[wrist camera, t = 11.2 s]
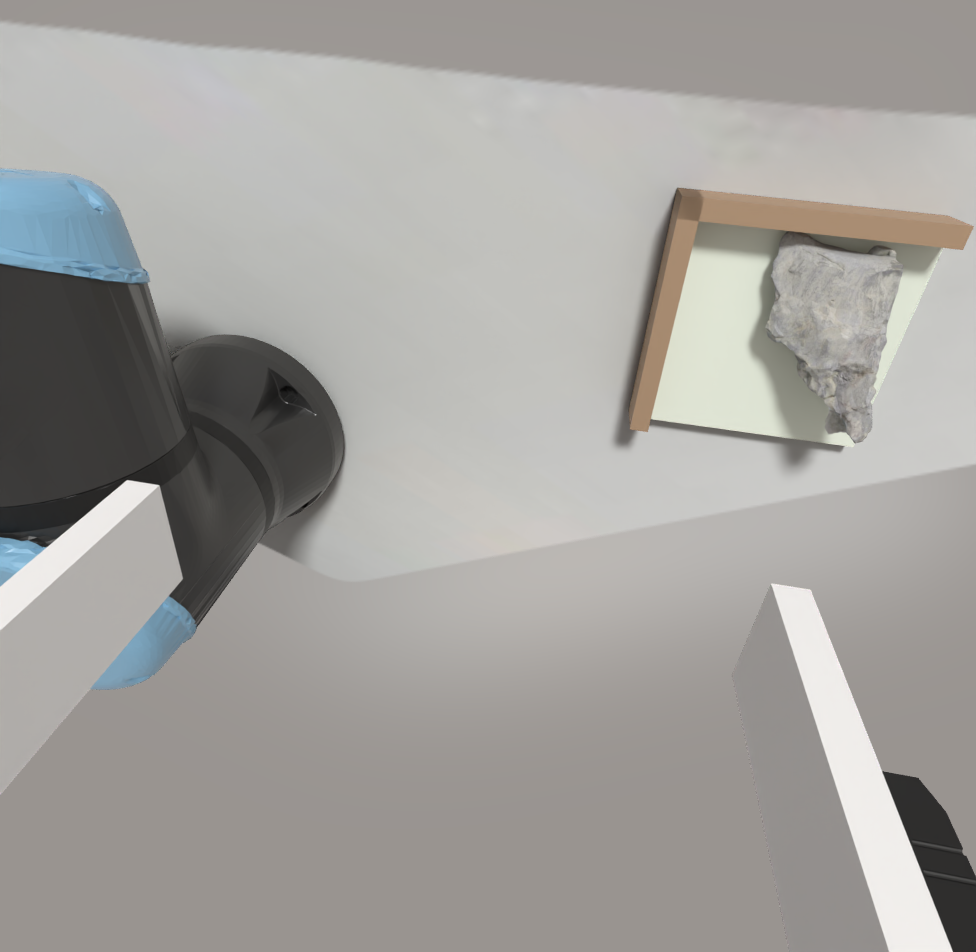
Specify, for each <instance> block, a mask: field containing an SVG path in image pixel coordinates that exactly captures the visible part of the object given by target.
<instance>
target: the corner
mask: <svg viewBox="0 0 976 952" xmlns="http://www.w3.org/2000/svg"><path fill="white" fill-rule="evenodd" d="M973 227H974V226H971V225H969V224H967V223H964V222H962V221H959V220H957V219H955V218H952V217H950V216H944V215H935V214H925V213H915V212H906V211H896V210H886V209H877V208H867V207H858V206H848V205H838V204H829V203H819V202H809V201H800V200H790V199H781V198H771V197H761V196H752V195H742V194H732V193H723V192H713V191H704V190H694V189H684V188H677V191H676V196H675V201H674V205H673V210H672V214H671V219H670V223H669V228H668V233H667V237H666V242H665V246H664V251H663V255H662V260H661V265H660V269H659V274H658V278H657V283H656V287H655V292H654V297H653V301H652V306H651V310H650V315H649V319H648V324H647V329H646V333H645V338H644V342H643V347H642V351H641V356H640V361H639V365H638V370H637V374H636V379H635V383H634V388H633V393H632V397H631V402H630V406H629V423H630V429H631V430H638V431H645V432H648V429H649V425H650V420H651V419H654V420H661V421H668V422H675V423H682V424H690V425H697V426H704V427H711V428H719V429H726V430H733V431H740V432H747V433H755V434H762V435H769V436H776V437H783V438H791V439H798V440H805V441H812V442H820V443H827V444H834V445H841V446H848V447H854V444H855V443H854V442H853V440H852V439H851V438H850V436H849V435H848V434H847V433H843V432H839V433H833V434H828V433H827V431H826V429H825V424H826V423H825V420H826V418H827V416H828V414H829V408H828V406H827V405H826V404H825V403H824V401H823V399H822V398H821V397H820V396H818V395H817V394H816V393H814V392H813V391H811V390H810V389H809V388H808V387H807V384H806V383H805V382H804V381H803V379H802V378H801V377H800V376H799V375H798V372H797V363H798V361H797V359H796V357H795V353H794V351H793V350H790V349H789V348H788V347H787V346H786V345H784V344H783V343H776V342H773V341H771V340H770V338H769V337H768V336H767V332H766V328H765V326H766V323H767V322H768V321H769V316H770V313H771V310H772V307H773V304H774V302H775V286H774V283H773V280H772V277H771V274H772V271H773V265H772V264H773V262H774V260H775V259H776V257H777V255H778V252H779V243H780V241H781V238H782V237H783V235H784V234H785V233H786V232H787V231H794V232H803V233H806V234H808V235H810V236H811V237H812V238H813V239H814V240H817V241H819V242H821V243H823V244H827V245H832V246H837V247H840V248H843V249H846V250H849V251H856V252H861V253H868V252H869V250H870V249H871V248H872V247H874V246H876V245H883V246H886V247H888V248H891V249H893V250H894V251H895V252H896V254H897V255H896V260H897V261H898V262H899V263H901V264H902V265H903V274H902V277H901V280H900V284H899V289H898V293H897V295H896V298H895V301H894V303H893V307H892V310H891V315H890V318H889V321H888V324H887V333H886V338H887V343H886V345H885V347H884V349H883V350H882V352H881V360H880V362H879V369H878V372H877V374H876V378H877V379H876V381H875V383H874V386H873V387H874V388H875V389H876V394H875V395H874V397H873V399H872V400H871V404H872V405H873V402H874V400H875V398H876V396H877V394H878V391H879V389H880V387H881V385H882V382H883V380H884V378H885V376H886V374H887V371H888V369H889V367H890V365H891V363H892V360H893V358H894V356H895V354H896V352H897V349H898V347H899V345H900V343H901V340H902V338H903V336H904V334H905V332H906V329H907V327H908V325H909V323H910V321H911V318H912V316H913V314H914V312H915V310H916V307H917V305H918V303H919V301H920V298H921V296H922V294H923V292H924V290H925V287H926V285H927V283H928V281H929V279H930V276H931V274H932V272H933V270H934V268H935V265H936V263H937V261H938V259H939V256H940V254H941V252H942V250H943V248H950V249H960V250H963V248H964V246H965V244H966V242H967V240H968V238H969V235H970V233H971V231H972V229H973Z"/></svg>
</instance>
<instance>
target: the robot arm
mask: <svg viewBox="0 0 976 952" xmlns="http://www.w3.org/2000/svg"><path fill="white" fill-rule="evenodd" d="M148 282H150V280H149V274H148V272H147V271H146V270H145V269H143V268H142V266H141V264H140V261H139V259H138V256H137V253H136V251H135V248H134V246H133V243H132V240H131V238H130V235H129V233H128V230H127V227H126V225H125V222H124V220H123V217H122V215H121V212H120V210H119V208H118V206H117V205H116V203H115V202H114V200H113V199H112V198H111V197H110V195H109V194H108V193H107V192H105V191H104V190H103V189H102V188H101V187H99V186H98V185H96V184H95V183H93V182H91V181H89V180H87V179H84V178H82V177H79V176H75V175H71V174H65V173H56V172H46V171H32V170H17V169H0V795H1V794H2V792H3V791H4V790H5V789H6V788H7V786H8V785H9V784H10V783H11V782H12V781H13V779H14V778H15V777H16V776H17V775H18V773H19V772H20V771H21V770H22V768H23V767H24V766H25V765H26V764H27V763H28V762H29V760H30V759H31V758H32V757H33V756H34V754H35V753H36V752H37V751H38V750H39V749H40V747H41V746H42V745H43V744H44V743H45V741H46V740H47V739H48V738H49V737H50V736H51V734H52V733H53V732H54V731H55V730H56V728H57V727H58V726H59V725H60V724H61V723H62V721H63V720H64V719H65V718H66V717H67V715H68V714H69V713H70V712H71V711H72V710H73V708H74V707H75V706H76V705H77V703H78V702H79V701H80V700H81V699H82V698H83V696H84V695H85V694H86V693H87V692H88V691H89V689H96V690H110V689H120V688H124V687H129V686H133V685H135V684H138V683H141V682H143V681H145V680H147V679H148V678H150V677H151V676H152V675H154V674H155V673H156V672H158V671H159V670H160V669H161V668H162V666H163V665H164V664H165V663H166V662H167V661H168V659H169V658H170V657H171V656H172V655H173V654H174V652H175V651H176V650H177V649H178V648H179V647H180V645H181V644H182V643H184V642H186V641H187V640H189V639H190V638H191V637H192V636H193V635H194V633H195V631H196V629H197V626H198V625H199V624H200V622H201V621H202V620H203V618H204V617H205V615H206V614H207V613H208V611H209V610H210V608H211V607H212V606H213V604H214V603H215V601H216V600H217V599H218V597H219V596H220V595H221V593H222V592H223V590H224V589H225V588H226V586H227V585H228V584H229V582H230V581H231V579H232V578H233V577H234V575H235V574H236V572H237V571H238V570H239V568H240V567H241V565H242V564H243V563H244V561H245V560H246V559H247V557H248V556H249V554H250V553H251V552H252V550H253V549H254V547H255V546H256V545H257V543H258V542H259V541H260V539H261V538H262V537H263V535H264V534H265V533H266V531H267V530H269V529H271V528H272V527H274V526H276V525H277V524H279V523H280V522H282V521H283V520H284V519H285V518H286V517H289V516H292V515H294V514H297V513H299V512H301V511H303V510H304V509H306V508H308V507H309V506H310V505H312V504H313V503H314V502H315V501H316V500H317V499H318V498H319V497H320V496H321V495H322V494H323V493H324V491H325V490H326V489H327V487H328V486H329V484H330V483H331V481H332V480H333V478H334V477H335V475H336V474H337V471H338V469H339V467H340V464H341V461H342V456H343V447H344V442H343V432H342V426H341V422H340V419H339V416H338V413H337V411H336V409H335V406H334V404H333V402H332V400H331V399H330V397H329V395H328V394H327V392H326V391H325V389H324V388H323V387H322V385H321V384H320V383H319V381H318V380H317V379H316V378H315V377H314V376H313V375H312V374H311V373H310V372H309V371H308V370H307V369H306V368H305V367H304V366H303V365H302V364H300V363H299V362H298V361H297V360H295V359H294V358H293V357H291V356H290V355H288V354H287V353H285V352H283V351H282V350H280V349H278V348H276V347H274V346H272V345H270V344H268V343H265V342H262V341H260V340H256V339H253V338H249V337H244V336H238V335H215V336H209V337H205V338H202V339H199V340H196V341H194V342H192V343H190V344H189V345H187V346H185V347H184V348H182V349H181V350H179V351H178V352H176V353H175V354H173V355H172V356H170V353H169V350H168V347H167V344H166V341H165V338H164V335H163V332H162V328H161V325H160V322H159V319H158V316H157V313H156V310H155V307H154V303H153V300H152V297H151V293H150V290H149V287H148V284H147V283H148ZM732 677H733V682H734V687H735V692H736V697H737V702H738V706H739V711H740V716H741V721H742V725H743V730H744V736H745V740H746V745H747V750H748V755H749V760H750V765H751V769H752V774H753V779H754V784H755V789H756V794H757V799H758V803H759V808H760V813H761V818H762V823H763V827H764V832H765V837H766V842H767V847H768V852H769V857H770V861H771V866H772V871H773V875H774V880H775V886H776V891H777V895H778V900H779V905H780V910H781V915H782V920H783V925H784V929H785V934H786V939H787V944H788V949H789V952H976V876H975V874H974V872H973V870H972V867H971V866H970V863H969V861H968V859H967V857H966V856H964V855H963V853H962V849H963V848H962V846H961V843H960V841H959V839H958V837H957V835H956V833H955V830H954V828H953V826H952V824H951V822H950V819H949V817H948V815H947V813H946V811H945V810H944V809H943V808H942V806H941V805H940V804H939V803H938V802H937V800H936V799H935V798H934V797H933V795H932V794H931V793H930V792H929V791H928V789H927V788H926V787H925V786H924V785H923V783H922V782H921V781H920V780H919V778H916V777H910V776H905V775H899V774H894V773H889V772H883V771H881V768H880V765H879V763H878V760H877V758H876V755H875V753H874V750H873V748H872V745H871V742H870V740H869V737H868V735H867V732H866V730H865V727H864V725H863V722H862V720H861V717H860V714H859V712H858V709H857V707H856V705H855V702H854V699H853V697H852V694H851V692H850V689H849V687H848V684H847V682H846V679H845V676H844V674H843V671H842V669H841V666H840V664H839V661H838V659H837V656H836V653H835V651H834V649H833V646H832V643H831V641H830V638H829V636H828V633H827V631H826V628H825V625H824V623H823V620H822V618H821V615H820V613H819V610H818V608H817V605H816V603H815V600H814V598H813V595H812V593H811V590H809V589H802V588H796V587H790V586H783V585H778V584H771V585H770V587H769V590H768V592H767V594H766V596H765V599H764V601H763V603H762V606H761V608H760V610H759V613H758V615H757V618H756V620H755V622H754V624H753V627H752V629H751V631H750V634H749V636H748V638H747V641H746V643H745V645H744V648H743V650H742V652H741V655H740V657H739V659H738V662H737V664H736V666H735V668H734V671H733V673H732Z"/></svg>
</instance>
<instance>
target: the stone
mask: <svg viewBox="0 0 976 952" xmlns="http://www.w3.org/2000/svg"><path fill="white" fill-rule="evenodd" d="M896 255H897V254H896V252H895V251H894V250H893V249H891V248H888V247H886V246H883V245H876V246H874V247H872V248H871V249H870V250H869V252H868V253H861V252H856V251H849V250H846V249H843V248H840V247H837V246H832V245H827V244H823V243H821V242H819V241H817V240H814V239H813V238H812V237H811V236H810V235H808V234H806V233H803V232H794V231H787V232H786V233H785V234H784V235H783V237H782V238H781V241H780V243H779V252H778V255H777V257H776V259H775V260H774V262H773V264H772V265H773V271H772V274H771V277H772V280H773V283H774V286H775V302H774V304H773V307H772V310H771V313H770V316H769V321H768V322H767V323H766V326H765V328H766V332H767V336H768V337H769V338H770V340H771V341H773V342H776V343H783V344H784V345H786V346H787V347H788V348H789V349H790V350H793V351H794V353H795V357H796V359H797V361H798V363H797V372H798V375H799V376H800V377H801V378H802V379H803V381H804V382H805V383H806V384H807V387H808V388H809V389H810V390H811V391H813V392H814V393H816V394H817V395H818V396H820V397H821V398H822V399H823V401H824V403H825V404H826V405H827V406H828V408H829V414H828V416H827V418H826V420H825V423H826V424H825V429H826V431H827V433H828V434H833V433H839V432H843V433H847V434H848V435H849V436H850V438H851V439H852V440H853V442H854V443H858V442H862V441H863V440H864V439H865V438H866V437H867V434H868V433H869V432H870V431H871V428H872V404H871V400H872V399H873V397H874V395H875V394H876V389H875V388H874V387H873V386H874V383H875V381H876V379H877V378H876V374H877V372H878V369H879V362H880V360H881V352H882V350H883V349H884V347H885V345H886V343H887V338H886V333H887V324H888V321H889V318H890V315H891V310H892V307H893V303H894V301H895V298H896V295H897V293H898V289H899V284H900V280H901V277H902V274H903V265H902V264H901V263H899V262H898V261H897V260H896Z"/></svg>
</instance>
